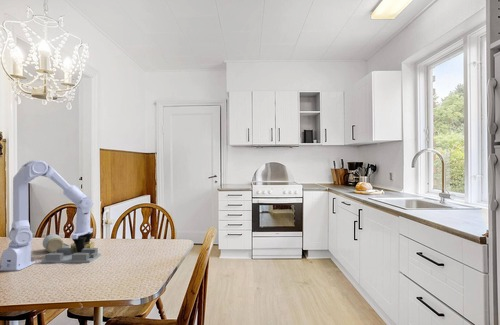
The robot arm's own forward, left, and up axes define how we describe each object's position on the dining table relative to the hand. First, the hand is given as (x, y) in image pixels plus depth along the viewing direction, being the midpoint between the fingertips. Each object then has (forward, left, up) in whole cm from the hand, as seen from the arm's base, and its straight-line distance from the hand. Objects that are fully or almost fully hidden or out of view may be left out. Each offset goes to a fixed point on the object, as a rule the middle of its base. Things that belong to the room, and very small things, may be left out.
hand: (82, 250), depth 131 cm
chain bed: (-8, 0, -1) cm, 8 cm away
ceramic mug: (+5, +15, -2) cm, 16 cm away
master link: (0, 0, -2) cm, 2 cm away
